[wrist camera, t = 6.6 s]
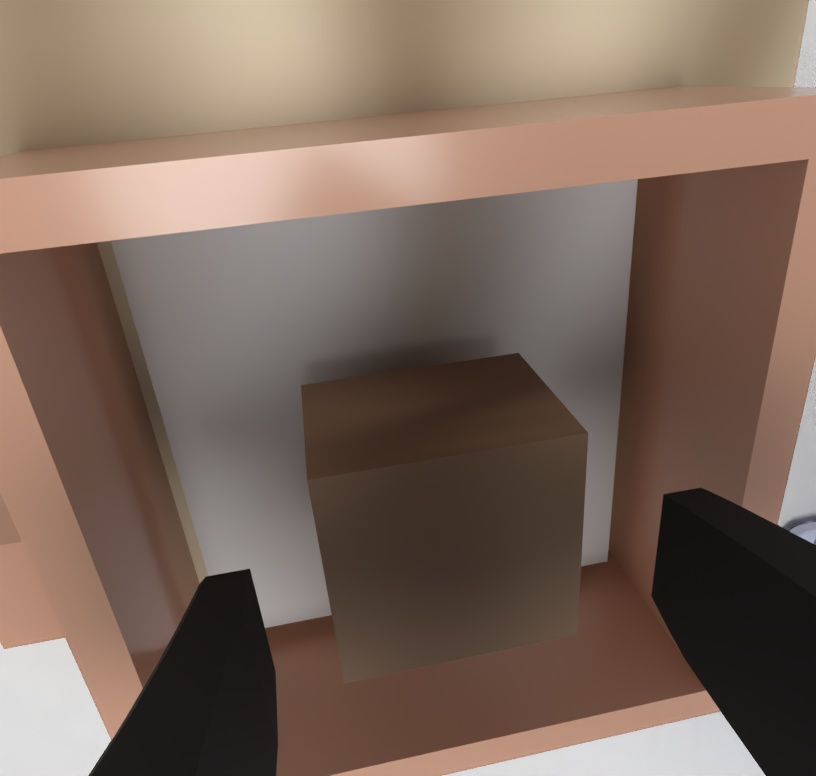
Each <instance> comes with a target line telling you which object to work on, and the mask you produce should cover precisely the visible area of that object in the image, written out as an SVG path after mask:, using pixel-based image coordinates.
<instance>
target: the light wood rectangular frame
mask: <svg viewBox="0 0 816 776" xmlns="http://www.w3.org/2000/svg"><path fill="white" fill-rule="evenodd" d="M808 2H809V0H0V156H3V155H7V154H10V153H14V152H18V151H27V150H37V149H47V148H57V147H67V146H77V145H87V144H98V143H108V142H118V141H128V140H138V139H148V138H158V137H169V136H179V135H189V134H199V133H209V132H219V131H230V130H240V129H250V128H260V127H270V126H280V125H290V124H301V123H311V122H321V121H331V120H341V119H351V118H361V117H372V116H382V115H392V114H402V113H412V112H422V111H432V110H443V109H453V108H463V107H473V106H483V105H493V104H503V103H514V102H524V101H534V100H544V99H554V98H564V97H574V96H585V95H595V94H605V93H615V92H625V91H635V90H645V89H656V88H666V87H676V86H738V87H794V82H795V77H796V71H797V65H798V59H799V54H800V48H801V42H802V36H803V31H804V25H805V19H806V14H807V8H808ZM637 185H638V181H637ZM636 198H637V193H636ZM635 210H636V206H635ZM634 223H635V219H634ZM633 236H634V231H633ZM97 245H98V248H99V252H100V255H101V258H102V261H103V265H104V268H105V271H106V275H107V278H108V281H109V285H110V288H111V291H112V295H113V298H114V301H115V305H116V308H117V311H118V315H119V318H120V321H121V324H122V328H123V331H124V334H125V338H126V341H127V344H128V348H129V351H130V354H131V358H132V361H133V364H134V368H135V371H136V374H137V378H138V381H139V384H140V387H141V391H142V394H143V397H144V401H145V404H146V407H147V411H148V414H149V417H150V421H151V424H152V427H153V431H154V434H155V437H156V441H157V444H158V447H159V451H160V454H161V457H162V460H163V464H164V467H165V470H166V474H167V477H168V480H169V484H170V487H171V490H172V494H173V497H174V500H175V504H176V507H177V510H178V514H179V517H180V520H181V523H182V527H183V530H184V533H185V537H186V540H187V543H188V547H189V550H190V553H191V557H192V560H193V563H194V567H195V570H196V573H197V577H198V580H199V583H201V582H202V580H203V579H204V578H205V577H206V576H208V573H207V570H206V566H205V563H204V559H203V556H202V553H201V549H200V546H199V542H198V539H197V535H196V532H195V529H194V525H193V522H192V518H191V515H190V511H189V508H188V505H187V501H186V498H185V494H184V491H183V487H182V484H181V480H180V477H179V474H178V470H177V467H176V463H175V460H174V456H173V453H172V450H171V446H170V443H169V439H168V436H167V432H166V429H165V426H164V422H163V419H162V415H161V412H160V408H159V405H158V402H157V398H156V395H155V391H154V388H153V384H152V381H151V377H150V374H149V371H148V367H147V364H146V360H145V357H144V353H143V350H142V347H141V343H140V340H139V336H138V333H137V329H136V326H135V323H134V319H133V316H132V312H131V309H130V305H129V302H128V299H127V295H126V292H125V288H124V285H123V281H122V278H121V274H120V271H119V268H118V264H117V261H116V257H115V254H114V250H113V247H112V244H111V241H104V242H97ZM632 248H633V244H632ZM631 261H632V257H631ZM630 273H631V269H630ZM629 286H630V282H629ZM628 299H629V295H628ZM627 311H628V307H627ZM626 324H627V320H626ZM625 337H626V333H625ZM624 349H625V345H624ZM623 362H624V358H623ZM622 375H623V371H622ZM621 387H622V383H621ZM620 400H621V396H620ZM619 413H620V409H619ZM618 425H619V421H618ZM617 438H618V434H617ZM616 450H617V447H616ZM615 463H616V459H615ZM614 476H615V472H614ZM613 488H614V485H613ZM612 501H613V497H612ZM611 514H612V510H611ZM610 526H611V523H610ZM609 539H610V535H609ZM608 550H609V548H608Z"/></svg>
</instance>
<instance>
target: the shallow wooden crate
mask: <svg viewBox="0 0 816 776" xmlns="http://www.w3.org/2000/svg"><path fill="white" fill-rule="evenodd" d="M634 179H638V185H637V198H636V210H635V223H634V236H633V248H632V261H631V273H630V286H629V299H628V311H627V324H626V337H625V349H624V362H623V375H622V387H621V400H620V413H619V425H618V438H617V450H616V463H615V476H614V488H613V501H612V514H611V526H610V539H609V550H608V561H607V562H602V563H597V564H591V565H586V566H581V577H580V595H579V613H578V632H577V635H573V636H568V637H564V638H559V639H554V640H549V641H544V642H540V643H535V644H530V645H525V646H520V647H516V648H511V649H506V650H501V651H496V652H492V653H487V654H482V655H477V656H472V657H468V658H463V659H458V660H453V661H448V662H444V663H439V664H434V665H429V666H424V667H420V668H415V669H410V670H405V671H400V672H396V673H391V674H386V675H381V676H376V677H372V678H367V679H362V680H357V681H352V682H348V683H344V679H343V674H342V668H341V663H340V658H339V652H338V647H337V641H336V636H335V630H334V625H333V619H332V615H329V616H324V617H319V618H314V619H309V620H304V621H299V622H294V623H288V624H283V625H278V626H273V627H268V628H265V631H266V635H267V639H268V643H269V647H270V651H271V655H272V659H273V663H274V667H275V671H276V695H277V724H278V754H277V769H276V776H442V775H447V774H451V773H455V772H460V771H464V770H468V769H473V768H477V767H481V766H486V765H490V764H494V763H499V762H503V761H507V760H512V759H516V758H520V757H525V756H529V755H533V754H538V753H542V752H546V751H551V750H555V749H559V748H564V747H568V746H572V745H577V744H581V743H585V742H589V741H594V740H598V739H602V738H607V737H611V736H615V735H620V734H624V733H628V732H633V731H637V730H641V729H646V728H650V727H654V726H659V725H663V724H667V723H672V722H676V721H680V720H685V719H689V718H693V717H698V716H702V715H706V714H711V713H715V712H719V711H720V710H719V708H718V707H717V705H716V704H715V702H714V701H713V699H712V698H711V697H710V695H709V694H708V692H707V691H706V689H705V688H704V686H703V685H702V684H701V682H700V681H699V679H698V678H697V676H696V675H695V673H694V672H693V670H692V669H691V667H690V666H689V664H688V663H687V661H686V660H685V659H684V657H683V655H682V653H681V651H680V650H679V648H678V646H677V644H676V642H675V641H674V639H673V637H672V635H671V633H670V631H669V630H668V628H667V626H666V624H665V622H664V620H663V618H662V616H661V614H660V612H659V610H658V608H657V606H656V604H655V602H654V600H653V598H652V596H651V594H652V585H653V577H654V569H655V560H656V552H657V544H658V536H659V527H660V519H661V511H662V502H663V494H667V493H673V492H679V491H684V490H690V489H695V488H703V489H706V490H708V491H710V492H712V493H714V494H717V495H719V496H721V497H723V498H725V499H727V500H729V501H731V502H733V503H735V504H737V505H739V506H741V507H743V508H745V509H747V510H749V511H751V512H753V513H755V514H757V515H759V516H761V517H763V518H764V519H766V520H768V521H770V522H772V523H774V524H776V525H777V524H778V519H779V515H780V511H781V506H782V502H783V497H784V493H785V489H786V484H787V480H788V475H789V471H790V466H791V462H792V458H793V453H794V449H795V444H796V440H797V436H798V431H799V427H800V422H801V418H802V414H803V409H804V405H805V400H806V396H807V392H808V387H809V383H810V378H811V374H812V370H813V365H814V361H815V356H816V88H810V87H738V86H676V87H666V88H656V89H645V90H635V91H625V92H615V93H605V94H595V95H585V96H574V97H564V98H554V99H544V100H534V101H524V102H514V103H503V104H493V105H483V106H473V107H463V108H453V109H443V110H432V111H422V112H412V113H402V114H392V115H382V116H372V117H361V118H351V119H341V120H331V121H321V122H311V123H301V124H290V125H280V126H270V127H260V128H250V129H240V130H230V131H219V132H209V133H199V134H189V135H179V136H169V137H158V138H148V139H138V140H128V141H118V142H108V143H98V144H87V145H77V146H67V147H57V148H47V149H37V150H27V151H18V152H14V153H10V154H7V155H3V156H0V642H1V644H2V646H3V648H4V649H7V648H12V647H18V646H23V645H28V644H33V643H39V642H44V641H49V640H54V639H60V638H66V640H67V643H68V645H69V647H70V649H71V651H72V654H73V656H74V658H75V660H76V663H77V665H78V667H79V669H80V671H81V674H82V676H83V678H84V680H85V683H86V685H87V687H88V689H89V691H90V694H91V696H92V698H93V700H94V703H95V705H96V707H97V709H98V711H99V714H100V716H101V718H102V720H103V723H104V725H105V727H106V729H107V731H108V734H109V736H110V738H111V740H112V739H113V737H114V736H115V734H116V733H117V731H118V729H119V728H120V726H121V725H122V723H123V721H124V720H125V718H126V716H127V715H128V713H129V711H130V710H131V708H132V706H133V704H134V703H135V701H136V699H137V698H138V696H139V694H140V693H141V691H142V689H143V687H144V686H145V684H146V682H147V681H148V679H149V677H150V675H151V674H152V672H153V670H154V669H155V667H156V665H157V663H158V662H159V660H160V658H161V656H162V654H163V653H164V651H165V649H166V647H167V645H168V643H169V642H170V640H171V638H172V636H173V634H174V632H175V631H176V629H177V627H178V625H179V623H180V621H181V619H182V617H183V615H184V613H185V611H186V610H187V608H188V606H189V604H190V602H191V600H192V598H193V596H194V594H195V592H196V590H197V588H198V586H199V584H200V583H199V580H198V577H197V573H196V570H195V567H194V563H193V560H192V557H191V553H190V550H189V547H188V543H187V540H186V537H185V533H184V530H183V527H182V523H181V520H180V517H179V514H178V510H177V507H176V504H175V500H174V497H173V494H172V490H171V487H170V484H169V480H168V477H167V474H166V470H165V467H164V464H163V460H162V457H161V454H160V451H159V447H158V444H157V441H156V437H155V434H154V431H153V427H152V424H151V421H150V417H149V414H148V411H147V407H146V404H145V401H144V397H143V394H142V391H141V387H140V384H139V381H138V378H137V374H136V371H135V368H134V364H133V361H132V358H131V354H130V351H129V348H128V344H127V341H126V338H125V334H124V331H123V328H122V324H121V321H120V318H119V315H118V311H117V308H116V305H115V301H114V298H113V295H112V291H111V288H110V285H109V281H108V278H107V275H106V271H105V268H104V265H103V261H102V258H101V255H100V252H99V248H98V245H97V242H104V241H113V240H121V239H130V238H138V237H147V236H155V235H164V234H173V233H181V232H190V231H198V230H207V229H215V228H224V227H232V226H241V225H250V224H258V223H267V222H275V221H284V220H292V219H301V218H309V217H318V216H326V215H335V214H344V213H352V212H361V211H369V210H378V209H386V208H395V207H403V206H412V205H421V204H429V203H438V202H446V201H455V200H463V199H472V198H480V197H489V196H498V195H506V194H515V193H523V192H532V191H540V190H549V189H557V188H566V187H575V186H583V185H592V184H600V183H609V182H617V181H626V180H634Z"/></svg>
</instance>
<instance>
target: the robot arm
mask: <svg viewBox="0 0 816 776" xmlns="http://www.w3.org/2000/svg"><path fill="white" fill-rule="evenodd" d="M651 596H652V598H653V600H654V602H655V604H656V606H657V608H658V610H659V612H660V614H661V616H662V618H663V620H664V622H665V624H666V626H667V628H668V630H669V631H670V633H671V635H672V637H673V639H674V641H675V642H676V644H677V646H678V648H679V650H680V651H681V653H682V655H683V657H684V659H685V660H686V661H687V663H688V664H689V666H690V667H691V669H692V670H693V672H694V673H695V675H696V676H697V678H698V679H699V681H700V682H701V684H702V685H703V686H704V688H705V689H706V691H707V692H708V694H709V695H710V697H711V698H712V699H713V701H714V702H715V704H716V705H717V707H718V708H719V710H720V711H721V712H722V714H723V715H724V717H725V718H726V720H727V721H728V722H729V724H730V725H731V727H732V728H733V729H734V731H735V732H736V734H737V735H738V737H739V738H740V739H741V741H742V742H743V744H744V745H745V747H746V748H747V749H748V751H749V752H750V754H751V755H752V756H753V758H754V759H755V761H756V762H757V764H758V765H759V766H760V768H761V769H762V771H763V772H764V774H765V775H766V776H816V522H812V523H807V524H802V525H798V526H796V527H794V528H793V529H791V530H790V531H788V530H786V529H784V528H782V527H780V526H778V525H776V524H774V523H772V522H770V521H768V520H766V519H764V518H763V517H761V516H759V515H757V514H755V513H753V512H751V511H749V510H747V509H745V508H743V507H741V506H739V505H737V504H735V503H733V502H731V501H729V500H727V499H725V498H723V497H721V496H719V495H717V494H714V493H712V492H710V491H708V490H706V489H703V488H695V489H690V490H684V491H679V492H673V493H667V494H663V502H662V511H661V519H660V527H659V536H658V544H657V552H656V560H655V569H654V577H653V585H652V594H651ZM277 754H278V724H277V695H276V671H275V667H274V663H273V659H272V655H271V651H270V647H269V643H268V639H267V635H266V631H265V627H264V623H263V619H262V615H261V611H260V607H259V603H258V599H257V595H256V591H255V587H254V583H253V579H252V575H251V571H250V569H245V570H239V571H234V572H228V573H223V574H217V575H212V576H206V577H205V578H204V579H203V580H202V582H201V583H200V584H199V586H198V588H197V590H196V592H195V594H194V596H193V598H192V600H191V602H190V604H189V606H188V608H187V610H186V611H185V613H184V615H183V617H182V619H181V621H180V623H179V625H178V627H177V629H176V631H175V632H174V634H173V636H172V638H171V640H170V642H169V643H168V645H167V647H166V649H165V651H164V653H163V654H162V656H161V658H160V660H159V662H158V663H157V665H156V667H155V669H154V670H153V672H152V674H151V675H150V677H149V679H148V681H147V682H146V684H145V686H144V687H143V689H142V691H141V693H140V694H139V696H138V698H137V699H136V701H135V703H134V704H133V706H132V708H131V710H130V711H129V713H128V715H127V716H126V718H125V720H124V721H123V723H122V725H121V726H120V728H119V729H118V731H117V733H116V734H115V736H114V737H113V739H112V740H111V742H110V743H109V745H108V747H107V748H106V750H105V751H104V753H103V754H102V756H101V757H100V759H99V760H98V762H97V763H96V765H95V767H94V768H93V770H92V771H91V773H90V774H89V776H276V769H277Z"/></svg>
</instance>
